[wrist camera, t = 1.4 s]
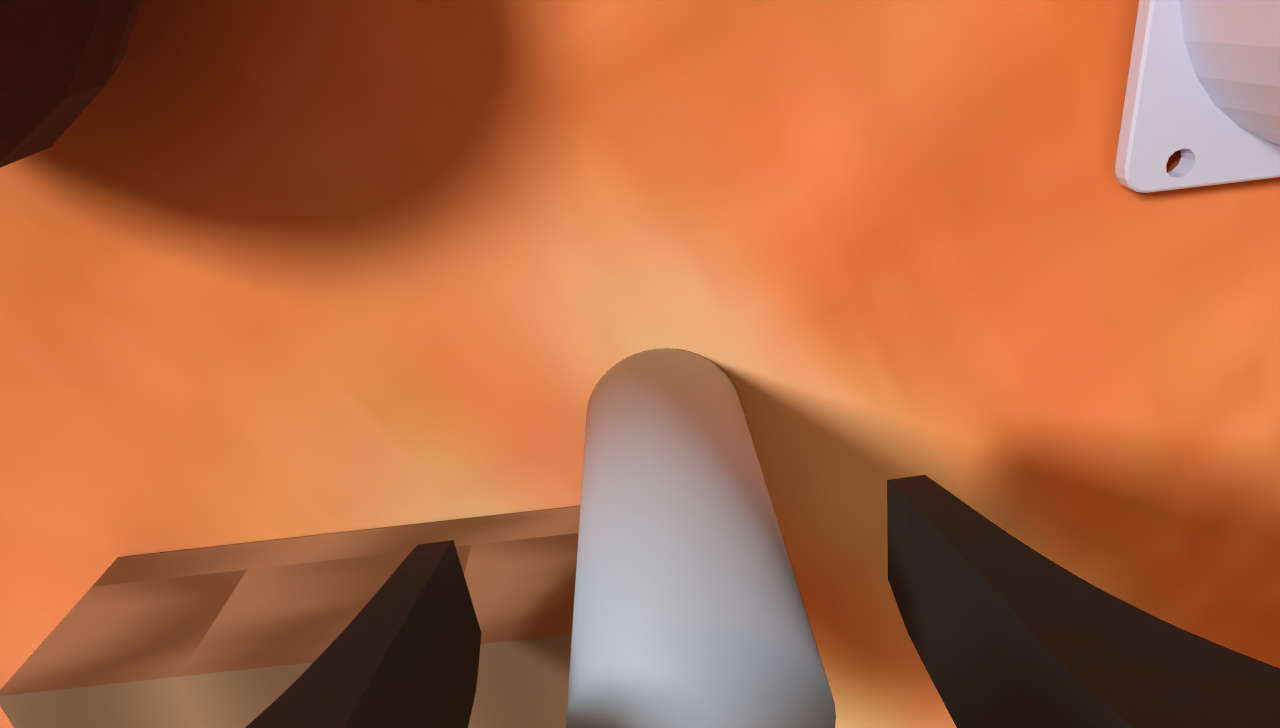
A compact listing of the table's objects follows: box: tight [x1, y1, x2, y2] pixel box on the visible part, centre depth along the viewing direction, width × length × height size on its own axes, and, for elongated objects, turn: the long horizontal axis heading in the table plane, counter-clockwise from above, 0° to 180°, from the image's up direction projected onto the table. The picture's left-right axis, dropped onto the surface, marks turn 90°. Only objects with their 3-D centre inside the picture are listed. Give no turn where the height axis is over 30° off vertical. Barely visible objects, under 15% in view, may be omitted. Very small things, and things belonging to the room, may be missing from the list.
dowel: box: [566, 349, 836, 728], centre depth 13 cm, size 3×3×8 cm
